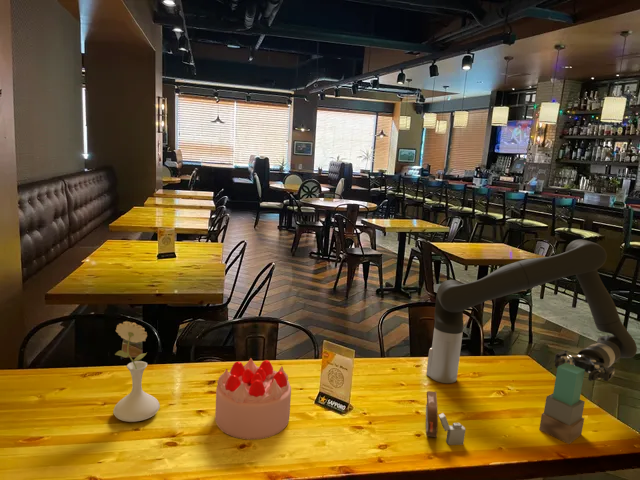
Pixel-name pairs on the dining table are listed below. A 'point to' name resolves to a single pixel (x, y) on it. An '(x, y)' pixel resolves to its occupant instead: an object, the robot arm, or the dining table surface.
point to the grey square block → (563, 410)
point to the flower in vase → (135, 380)
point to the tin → (431, 414)
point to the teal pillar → (568, 383)
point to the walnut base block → (561, 428)
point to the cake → (252, 401)
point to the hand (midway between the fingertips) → (573, 371)
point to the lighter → (453, 431)
